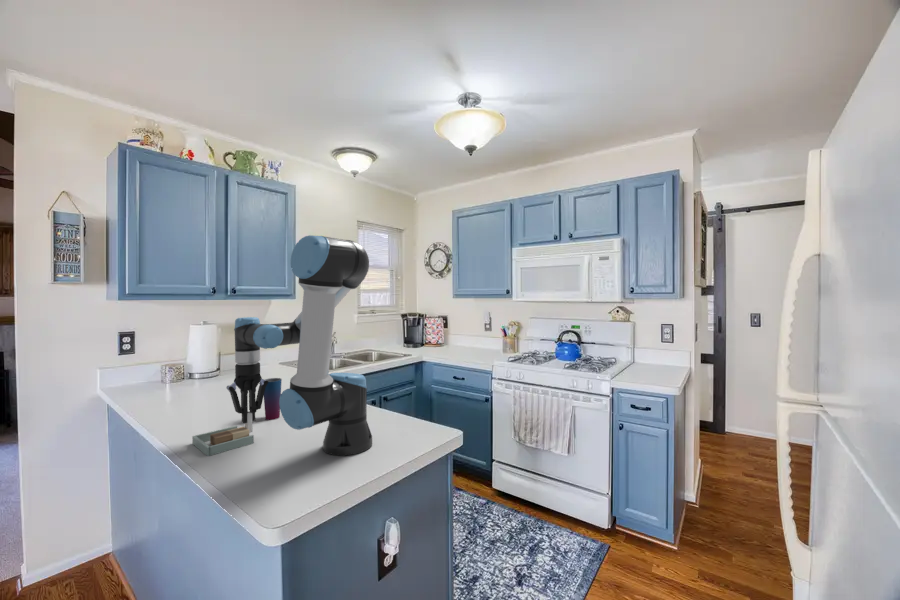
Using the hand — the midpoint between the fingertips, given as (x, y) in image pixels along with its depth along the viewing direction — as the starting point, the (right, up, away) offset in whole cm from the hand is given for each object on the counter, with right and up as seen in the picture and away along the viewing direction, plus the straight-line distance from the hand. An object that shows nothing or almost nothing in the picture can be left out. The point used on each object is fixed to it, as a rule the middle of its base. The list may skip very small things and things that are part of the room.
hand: (248, 431), depth 130 cm
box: (-5, -2, -6) cm, 8 cm away
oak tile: (-2, -2, -2) cm, 4 cm away
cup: (-1, -2, +20) cm, 20 cm away
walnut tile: (-6, -2, -6) cm, 8 cm away
